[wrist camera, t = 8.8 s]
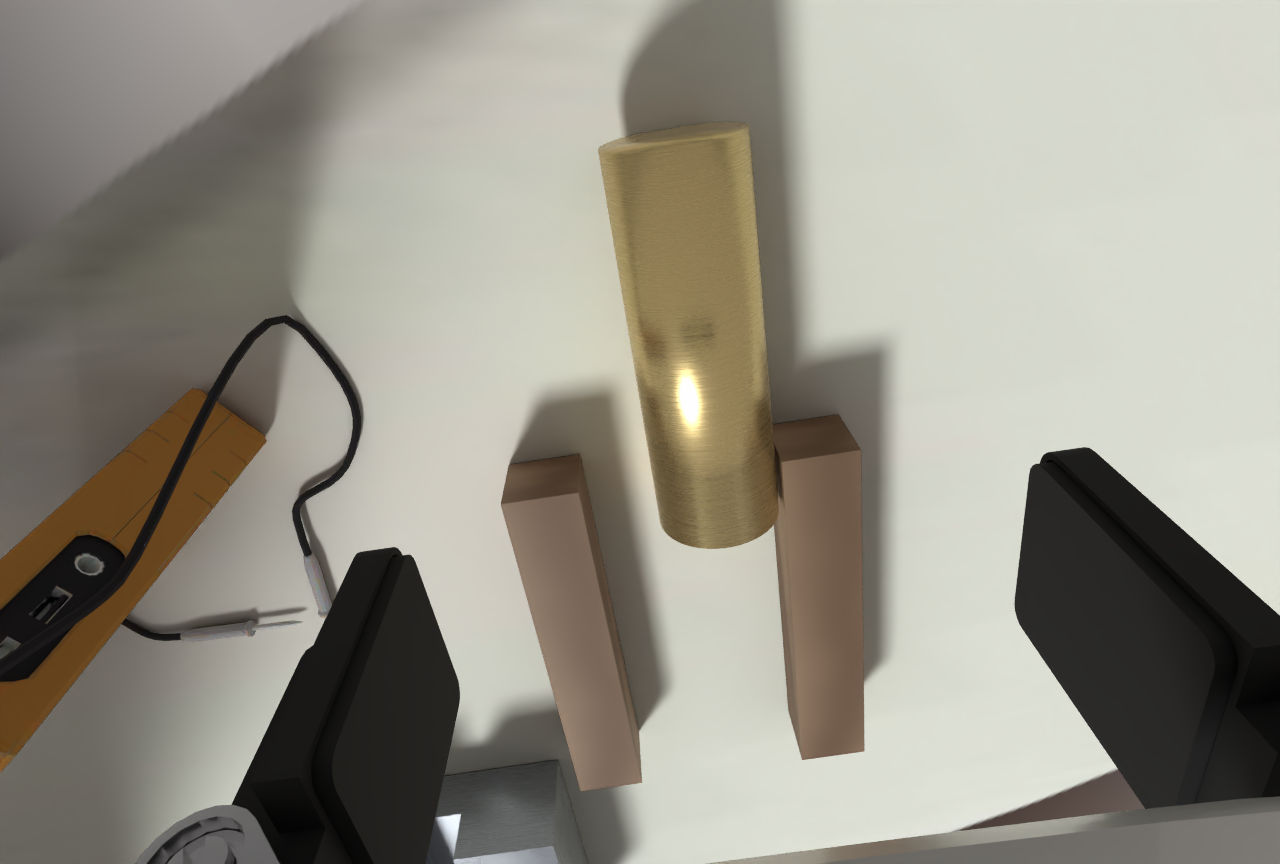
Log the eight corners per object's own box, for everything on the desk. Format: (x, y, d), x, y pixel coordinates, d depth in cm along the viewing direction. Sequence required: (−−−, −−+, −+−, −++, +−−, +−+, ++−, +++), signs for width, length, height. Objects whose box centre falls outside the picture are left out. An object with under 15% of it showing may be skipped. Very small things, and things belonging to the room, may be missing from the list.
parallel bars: (581, 740, 33) (580, 791, 31) (508, 464, 27) (500, 504, 24) (846, 702, 33) (864, 751, 31) (838, 414, 26) (860, 450, 24)
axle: (712, 468, 28) (803, 501, 26) (635, 522, 26) (727, 564, 23) (669, 124, 23) (780, 120, 20) (567, 153, 20) (677, 153, 18)
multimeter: (273, 707, 31) (-140, 1579, 14) (35, 571, 28) (-949, 1525, 10) (515, 489, 27) (362, 1354, 9) (270, 296, 23) (-727, 1116, 6)
